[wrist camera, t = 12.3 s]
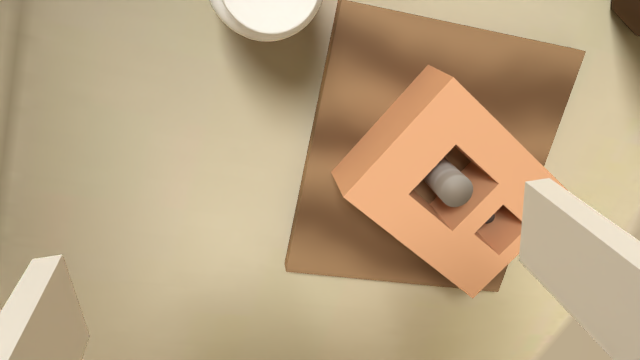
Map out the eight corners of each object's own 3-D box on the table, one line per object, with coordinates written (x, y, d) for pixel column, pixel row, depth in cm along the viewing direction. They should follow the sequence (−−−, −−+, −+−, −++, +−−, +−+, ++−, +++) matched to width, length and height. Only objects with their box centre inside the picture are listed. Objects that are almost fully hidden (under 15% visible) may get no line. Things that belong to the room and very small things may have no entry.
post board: (338, -2, 35) (359, 4, 29) (575, 49, 39) (634, 63, 33) (284, 263, 42) (293, 310, 36) (491, 284, 46) (528, 329, 40)
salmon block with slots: (331, 172, 38) (343, 197, 34) (428, 64, 36) (453, 77, 32) (449, 266, 43) (472, 298, 39) (540, 175, 41) (575, 198, 37)
